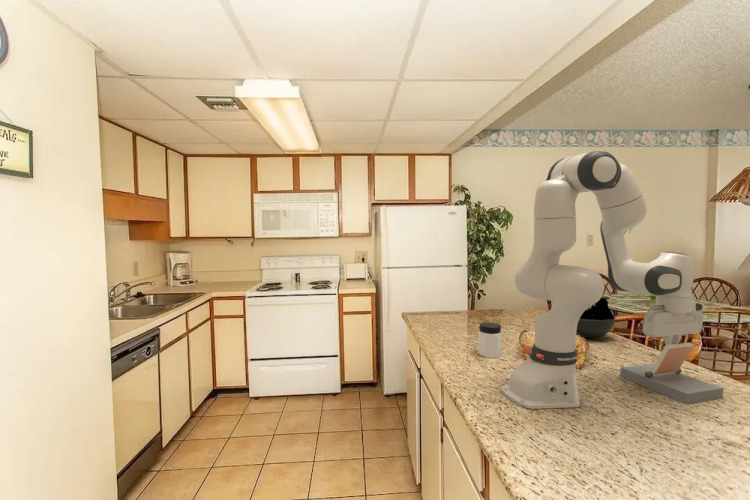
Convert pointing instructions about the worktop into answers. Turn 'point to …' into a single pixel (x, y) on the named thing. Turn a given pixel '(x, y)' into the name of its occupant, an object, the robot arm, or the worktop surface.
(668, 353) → the tile
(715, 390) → the stand
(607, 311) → the coal bowl
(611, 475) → the worktop surface
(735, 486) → the worktop surface
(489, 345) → the jar
